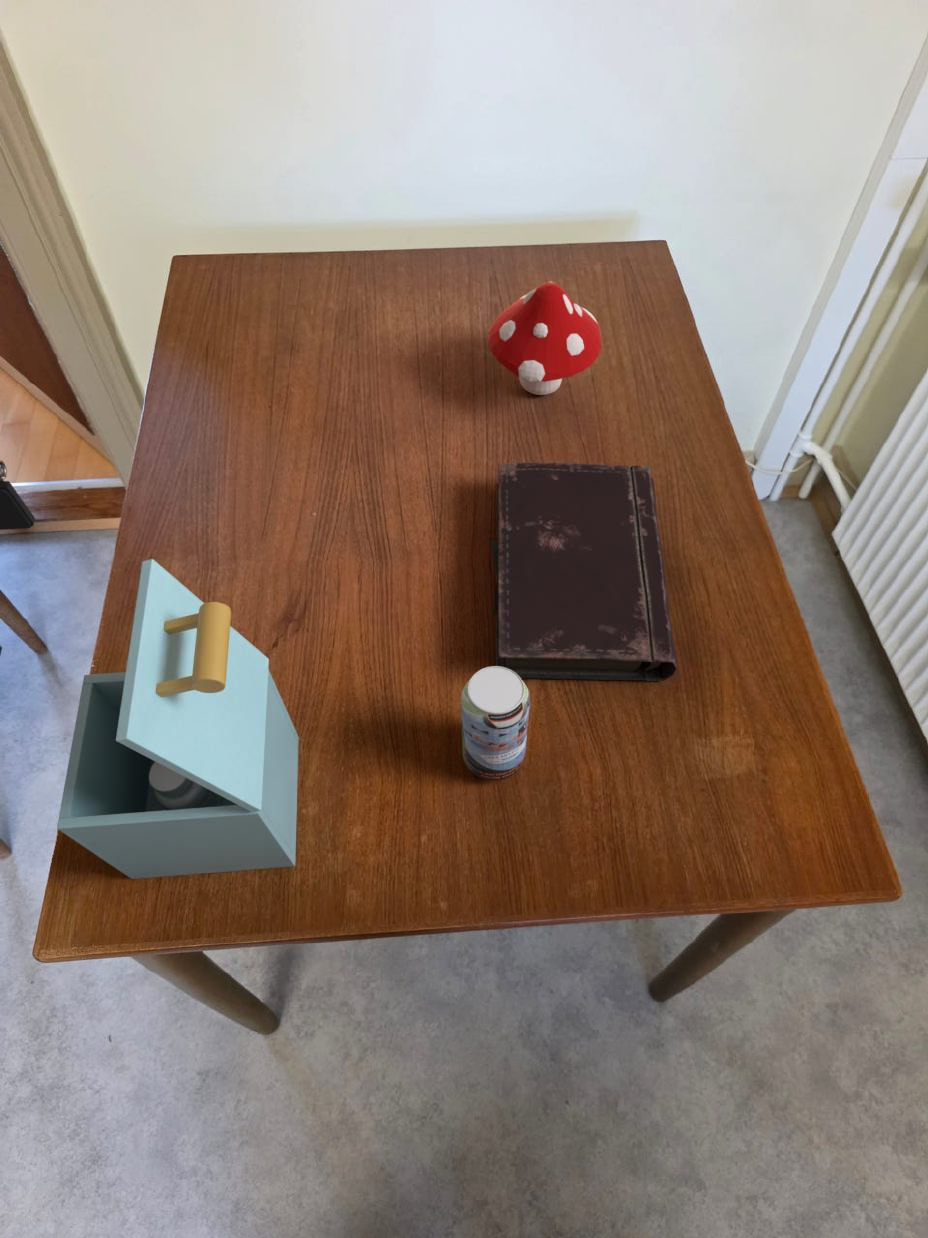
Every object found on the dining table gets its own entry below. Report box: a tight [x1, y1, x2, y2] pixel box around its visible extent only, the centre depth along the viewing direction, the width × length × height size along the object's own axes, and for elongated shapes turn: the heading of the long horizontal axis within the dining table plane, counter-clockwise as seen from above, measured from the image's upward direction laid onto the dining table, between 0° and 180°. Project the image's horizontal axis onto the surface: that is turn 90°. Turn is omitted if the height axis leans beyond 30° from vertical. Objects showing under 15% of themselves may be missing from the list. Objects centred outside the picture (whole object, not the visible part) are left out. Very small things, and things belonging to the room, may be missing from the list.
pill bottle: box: [149, 762, 221, 810], centre depth 72 cm, size 4×4×8 cm
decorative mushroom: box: [487, 280, 602, 396], centre depth 98 cm, size 14×14×15 cm
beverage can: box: [460, 665, 531, 781], centre depth 74 cm, size 6×7×12 cm
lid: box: [116, 558, 270, 812], centre depth 56 cm, size 15×13×5 cm
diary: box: [489, 462, 678, 682], centre depth 87 cm, size 19×25×5 cm
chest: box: [56, 668, 300, 880], centre depth 69 cm, size 15×13×16 cm
